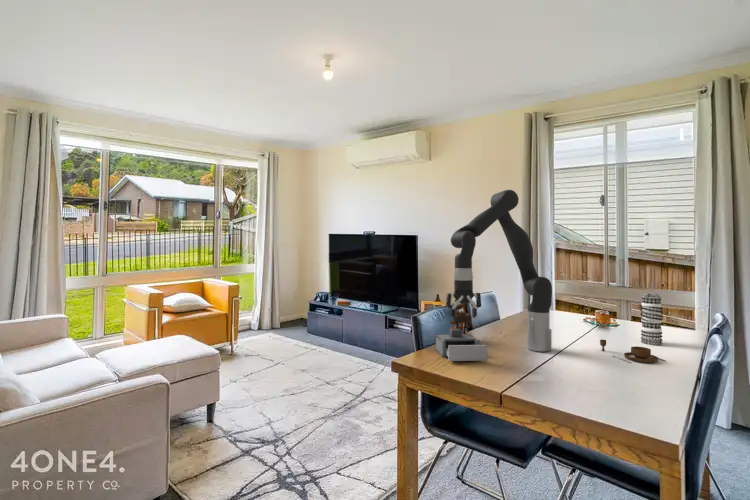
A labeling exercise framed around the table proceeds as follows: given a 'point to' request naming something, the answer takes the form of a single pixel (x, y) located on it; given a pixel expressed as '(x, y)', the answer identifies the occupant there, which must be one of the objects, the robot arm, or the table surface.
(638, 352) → the place setting
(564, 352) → the table surface
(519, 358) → the table surface
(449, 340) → the grey drawer box
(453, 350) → the grey drawer
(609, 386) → the table surface
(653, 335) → the decorative candle
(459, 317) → the brown tall lumpy piece
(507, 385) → the table surface
